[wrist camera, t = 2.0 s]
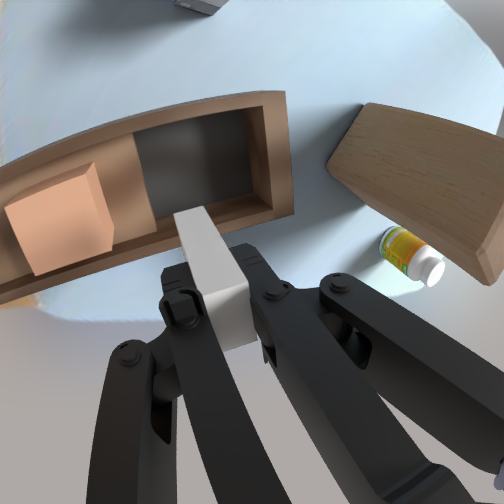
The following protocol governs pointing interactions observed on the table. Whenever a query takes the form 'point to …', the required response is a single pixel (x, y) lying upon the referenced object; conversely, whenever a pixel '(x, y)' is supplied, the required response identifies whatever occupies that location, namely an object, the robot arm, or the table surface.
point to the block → (430, 182)
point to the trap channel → (162, 179)
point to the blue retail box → (202, 5)
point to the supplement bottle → (411, 256)
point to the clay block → (62, 219)
